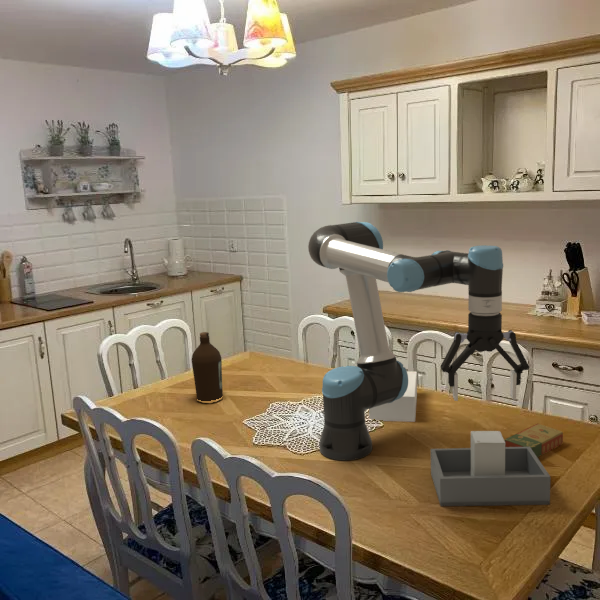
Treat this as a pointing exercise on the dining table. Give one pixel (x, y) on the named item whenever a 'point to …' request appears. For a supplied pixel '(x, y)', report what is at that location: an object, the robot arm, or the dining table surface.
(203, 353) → the olive oil
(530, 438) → the carton
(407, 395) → the hammer embossed block
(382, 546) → the dining table surface
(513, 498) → the open box
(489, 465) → the supplement box
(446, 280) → the robot arm
